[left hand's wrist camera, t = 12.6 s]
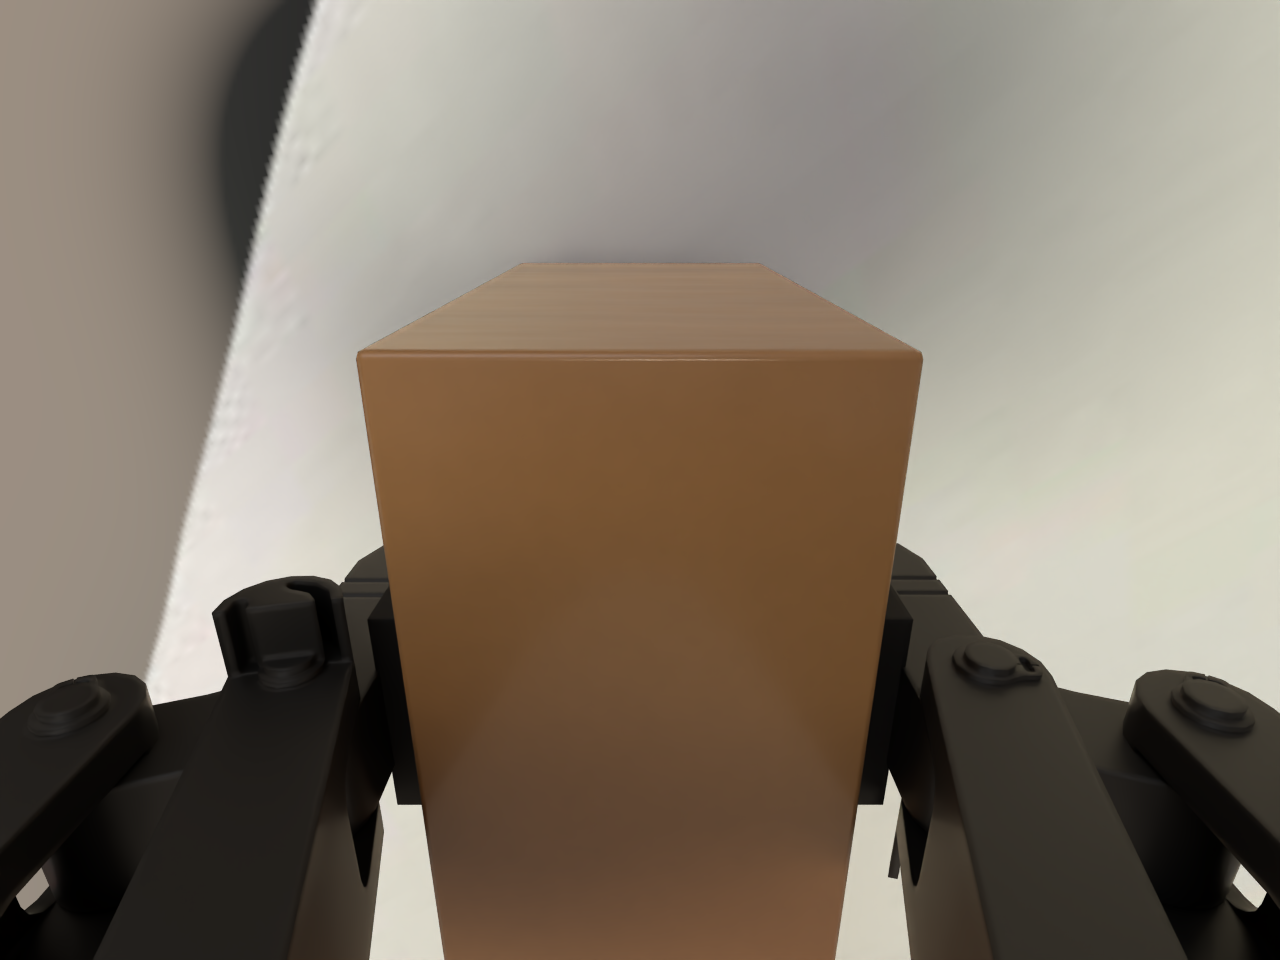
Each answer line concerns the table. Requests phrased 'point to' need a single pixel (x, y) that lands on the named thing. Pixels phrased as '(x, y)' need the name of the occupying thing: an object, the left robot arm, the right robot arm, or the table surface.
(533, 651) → the bar
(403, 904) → the table surface
